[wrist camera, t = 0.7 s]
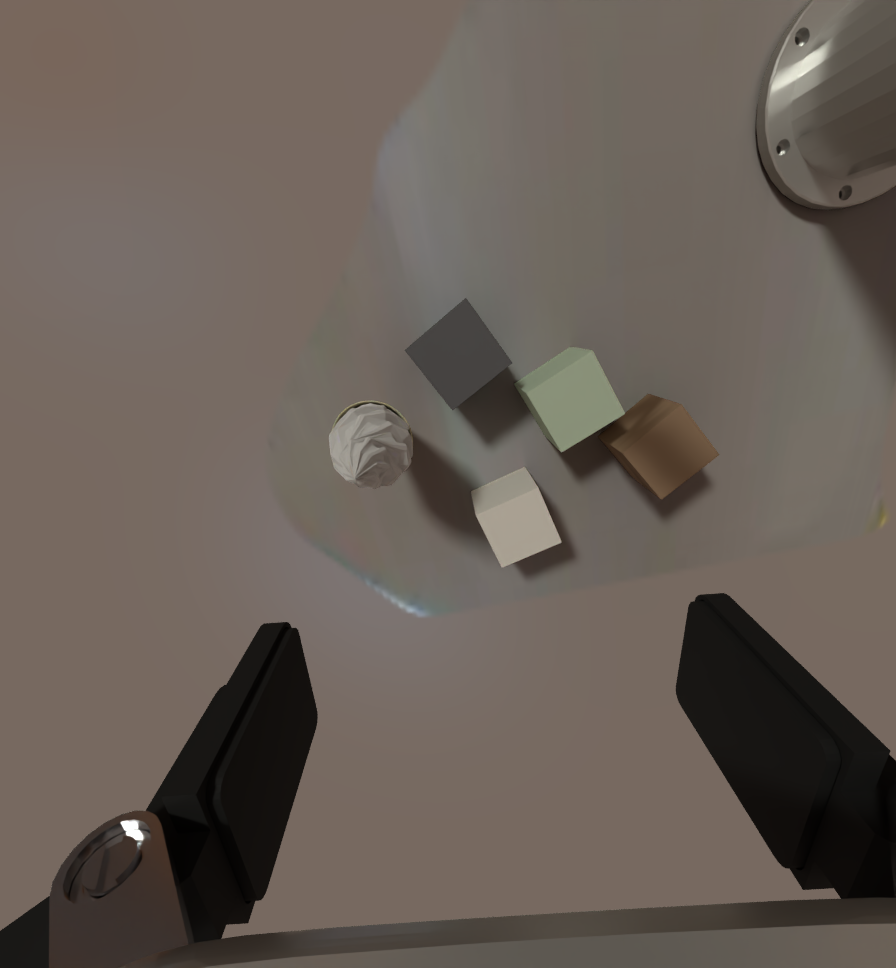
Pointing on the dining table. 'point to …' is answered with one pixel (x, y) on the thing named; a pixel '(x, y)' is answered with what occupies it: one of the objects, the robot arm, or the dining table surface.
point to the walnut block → (658, 444)
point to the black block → (458, 354)
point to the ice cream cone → (371, 444)
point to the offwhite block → (514, 517)
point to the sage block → (570, 397)
